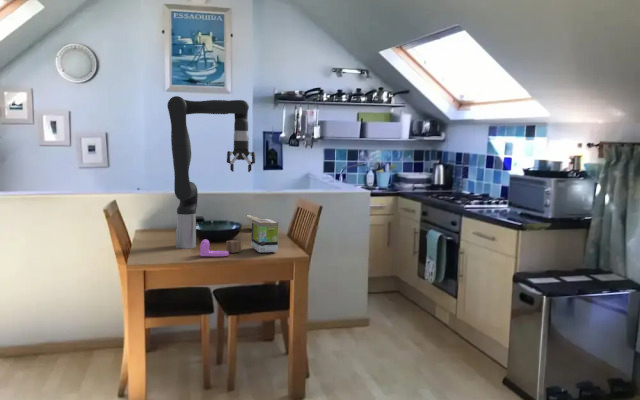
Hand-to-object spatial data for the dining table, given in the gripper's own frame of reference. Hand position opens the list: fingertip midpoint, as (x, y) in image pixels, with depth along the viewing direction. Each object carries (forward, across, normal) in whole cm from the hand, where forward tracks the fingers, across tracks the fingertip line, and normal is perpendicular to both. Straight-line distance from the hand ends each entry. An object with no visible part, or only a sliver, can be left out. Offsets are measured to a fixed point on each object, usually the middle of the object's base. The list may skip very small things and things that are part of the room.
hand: (240, 171), depth 277 cm
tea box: (+38, +14, -10) cm, 42 cm away
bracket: (+38, -7, -26) cm, 47 cm away
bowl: (+38, +2, +46) cm, 60 cm away
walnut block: (+36, +2, -15) cm, 39 cm away
